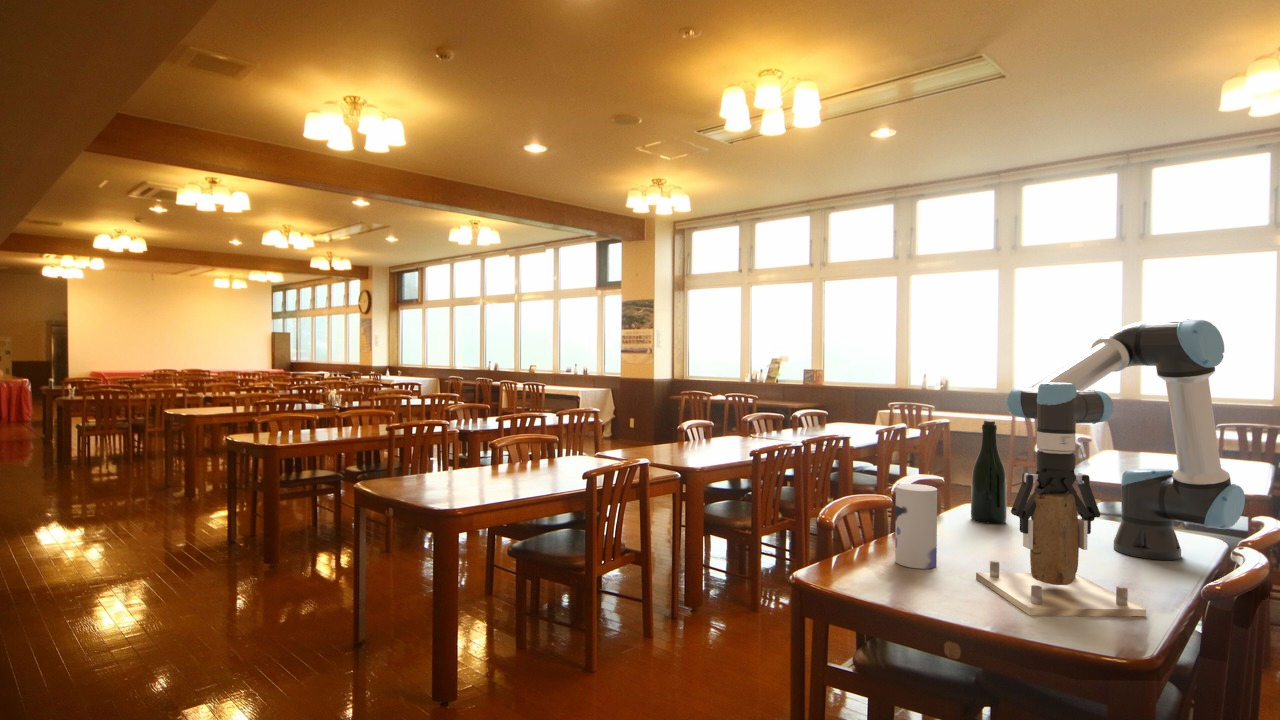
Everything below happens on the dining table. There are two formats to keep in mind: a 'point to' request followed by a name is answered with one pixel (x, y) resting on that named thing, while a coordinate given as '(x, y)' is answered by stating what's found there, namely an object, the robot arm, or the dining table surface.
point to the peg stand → (1059, 595)
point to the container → (916, 526)
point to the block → (1055, 539)
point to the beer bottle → (988, 480)
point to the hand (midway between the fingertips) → (1054, 548)
